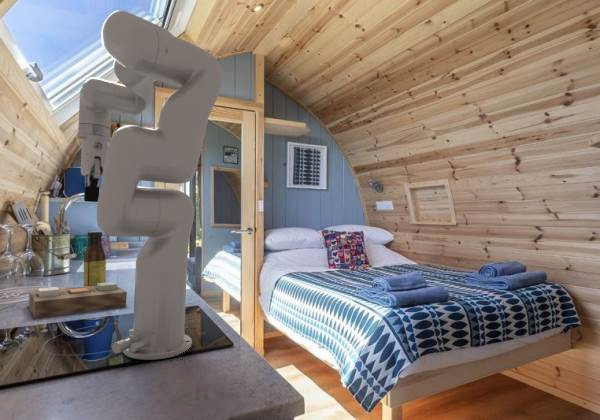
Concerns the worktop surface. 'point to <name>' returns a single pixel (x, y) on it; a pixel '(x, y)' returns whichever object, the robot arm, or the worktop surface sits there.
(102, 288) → the sage button
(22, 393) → the worktop surface
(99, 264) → the sauce bottle
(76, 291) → the terracotta button
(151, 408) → the worktop surface
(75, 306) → the button panel
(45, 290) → the cream button
